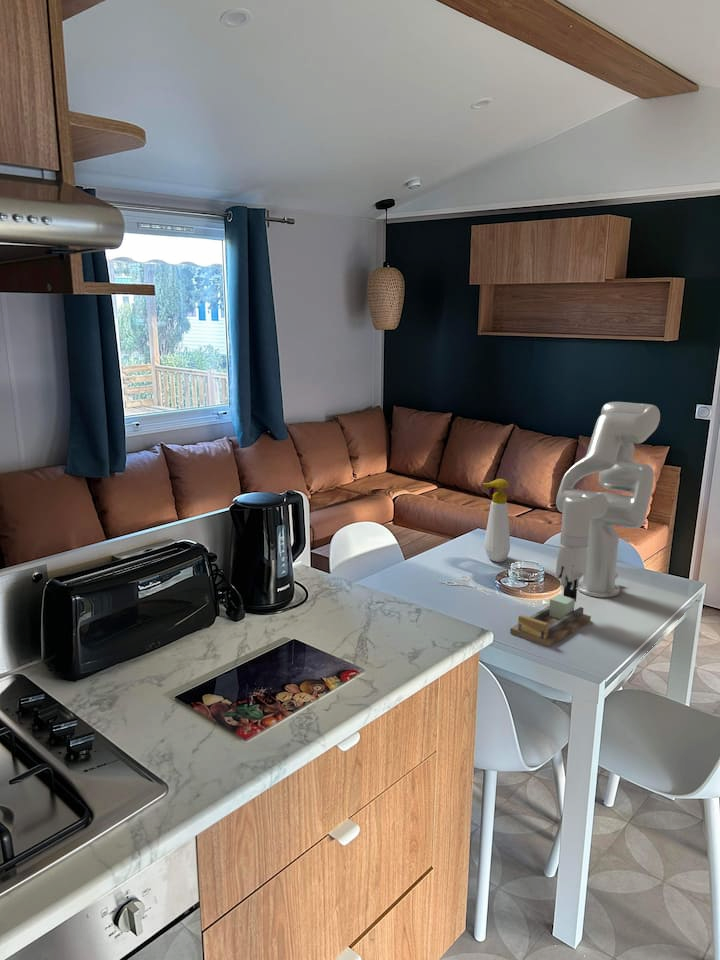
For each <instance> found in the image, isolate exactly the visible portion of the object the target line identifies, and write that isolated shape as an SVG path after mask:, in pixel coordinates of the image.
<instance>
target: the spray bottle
mask: <svg viewBox="0 0 720 960" xmlns="http://www.w3.org/2000/svg"><path fill="white" fill-rule="evenodd" d="M481 484H482V486H484V487H486V488H487V487H489V488H497V491H496V492H494V493H493V494H492V501H491V502H490V507H489V514H488V520H487V525H486V531H485V536H484V546H483V547H484V550H485V553H486V556H487V558H489V560H491V561H493V562H496V563H501V562H504V561H506V559H507V558H508V556H509V554H510V550H511V549H510V548H511V541H510V540H511V539H510V538H511V536H510V524H509V523H510V522H509V510H508V509H509V507H508V502H507V499H508V498H507V497H508V496H507V494H506V493H505V492H503V489H505V488H506V489H507V488H509V487H510V484H509V482H508V481H507V480H506V479H503V478H496V479H495V480H492V481H490V482H483V483H481Z"/></svg>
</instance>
